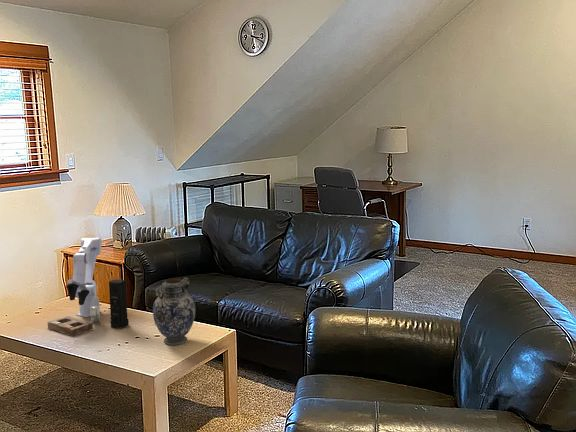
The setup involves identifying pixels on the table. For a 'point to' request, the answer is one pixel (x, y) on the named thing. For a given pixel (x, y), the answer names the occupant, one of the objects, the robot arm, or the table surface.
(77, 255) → the robot arm
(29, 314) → the table surface
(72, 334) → the socket board
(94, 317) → the steel peg
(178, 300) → the decorative vase
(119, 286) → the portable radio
